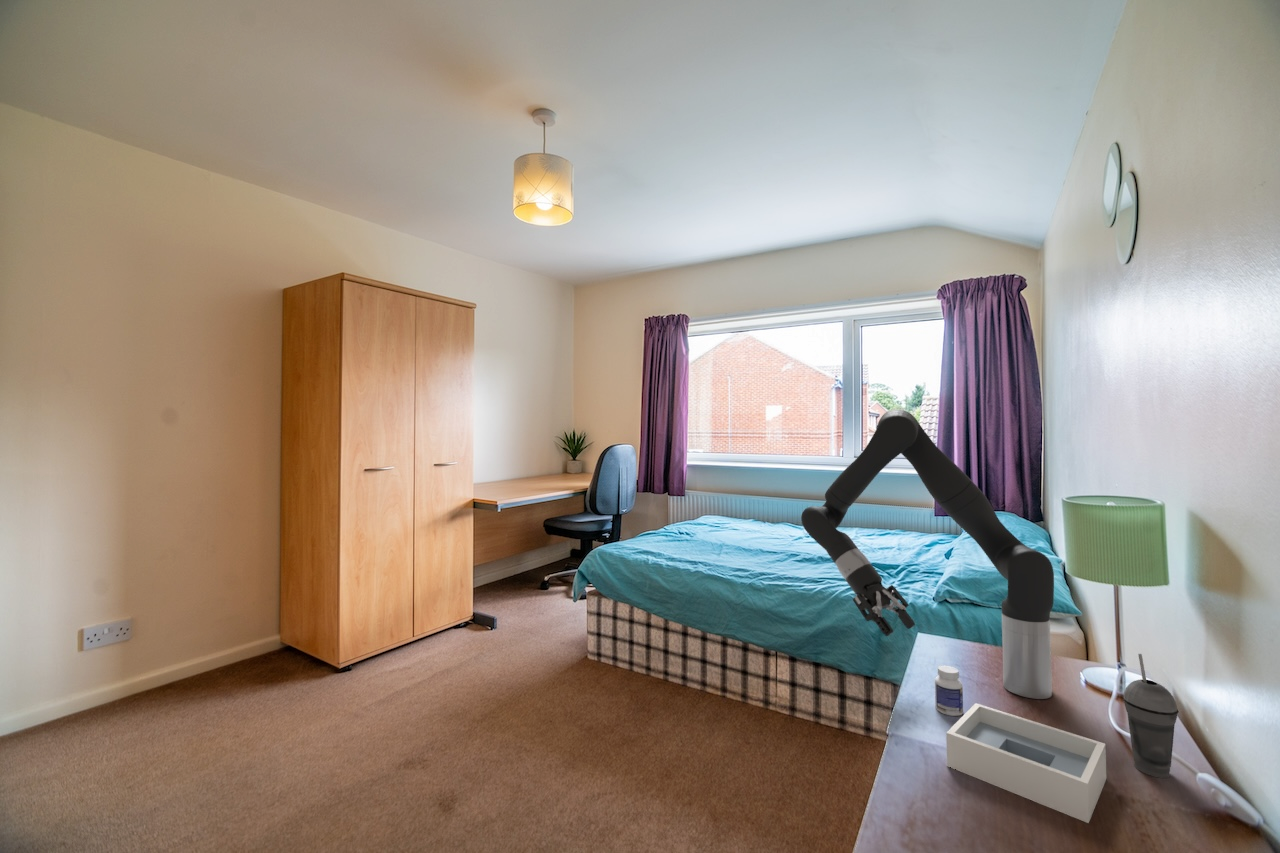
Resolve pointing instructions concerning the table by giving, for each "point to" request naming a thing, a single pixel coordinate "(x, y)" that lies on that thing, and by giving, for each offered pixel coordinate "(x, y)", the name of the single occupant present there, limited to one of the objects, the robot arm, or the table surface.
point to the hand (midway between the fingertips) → (901, 630)
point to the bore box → (1029, 759)
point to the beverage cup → (1150, 724)
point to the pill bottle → (948, 691)
